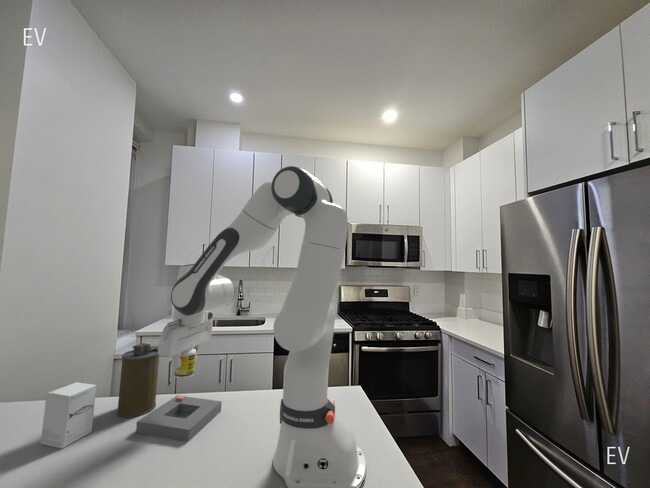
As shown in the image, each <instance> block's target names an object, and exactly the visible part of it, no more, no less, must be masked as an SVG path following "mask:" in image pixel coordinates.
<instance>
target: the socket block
mask: <svg viewBox="0 0 650 488" xmlns="http://www.w3.org/2000/svg"><path fill="white" fill-rule="evenodd" d="M221 411H222V400H214V399H206V398H198V397H192V396H191V397H190V396H186V395H175V396H174V397H173V398H170V400H168V401H166V402H165V403H163V404H162V405H160V406H159V407H157V408H156V409H155V408H154V409H153V410H151V411H150V412H148V414H146V415H145V416H143V417H142V418H140V419H138V420H137V421H136V429H135V433H136V434H138V435H139V434H140V435H146V436H153V437H158V438H164V439H170V440H177V441H182V442H190V441H191V440H192V439H194V437H195V436H196V435H197V434H198V433H200V431H202V430H203V429H204V428H205V427H206V426H207V425H208V424H209V423H210V422H212V420H213V419H214V418H215V417H216V416H217V415H219V414H220V413H221ZM180 414H182V415H188V416H187V417H185V418H184V417H177V416H178V415H180Z"/></svg>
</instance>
